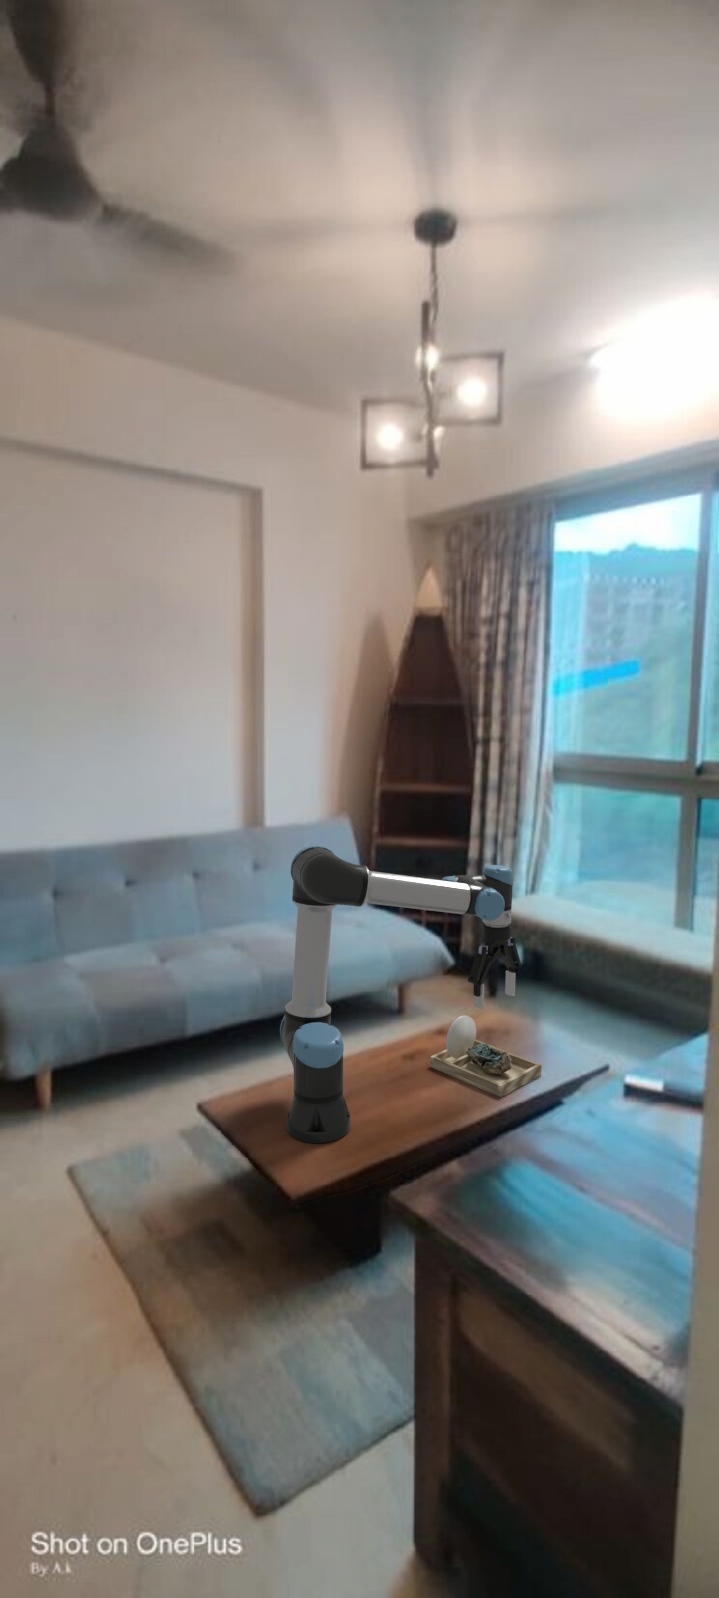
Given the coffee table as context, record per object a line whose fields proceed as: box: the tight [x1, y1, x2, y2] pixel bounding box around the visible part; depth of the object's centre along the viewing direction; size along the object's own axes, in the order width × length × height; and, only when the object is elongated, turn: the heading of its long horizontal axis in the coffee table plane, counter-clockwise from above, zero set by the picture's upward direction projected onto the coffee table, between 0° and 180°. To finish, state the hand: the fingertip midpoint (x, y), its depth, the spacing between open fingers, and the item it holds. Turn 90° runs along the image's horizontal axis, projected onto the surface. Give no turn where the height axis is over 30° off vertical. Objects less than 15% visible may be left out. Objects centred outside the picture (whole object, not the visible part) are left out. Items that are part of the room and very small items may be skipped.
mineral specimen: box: [466, 1042, 512, 1074], centre depth 215 cm, size 12×9×8 cm
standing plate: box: [445, 1014, 477, 1059], centre depth 222 cm, size 12×1×12 cm, turn 133°
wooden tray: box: [429, 1038, 542, 1098], centre depth 216 cm, size 18×24×3 cm
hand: (494, 1001), depth 212 cm, fingers open, 13 cm apart
